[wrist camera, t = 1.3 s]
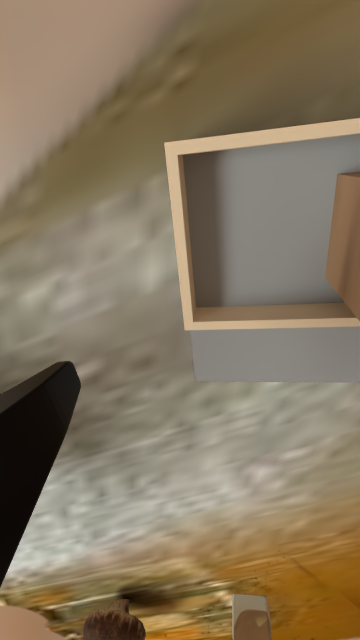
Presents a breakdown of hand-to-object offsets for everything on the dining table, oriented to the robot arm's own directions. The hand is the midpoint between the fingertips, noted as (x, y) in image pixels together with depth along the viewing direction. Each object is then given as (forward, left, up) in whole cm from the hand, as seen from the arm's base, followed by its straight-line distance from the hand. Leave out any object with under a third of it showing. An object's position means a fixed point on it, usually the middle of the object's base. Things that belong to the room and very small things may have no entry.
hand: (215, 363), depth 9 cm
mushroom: (+16, +49, -12) cm, 52 cm away
